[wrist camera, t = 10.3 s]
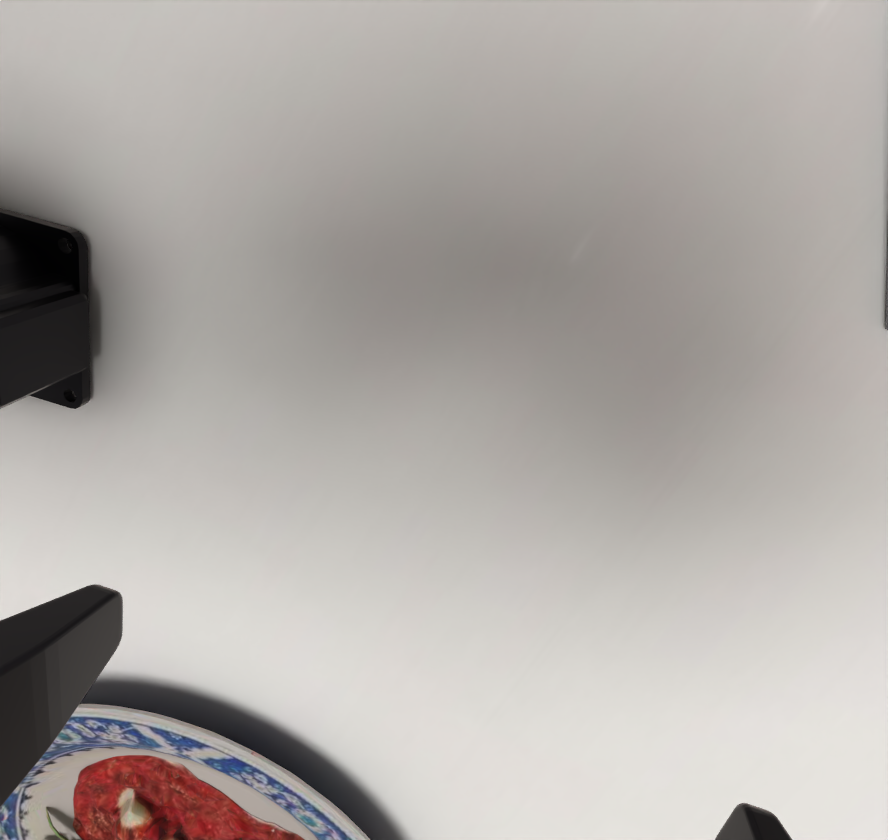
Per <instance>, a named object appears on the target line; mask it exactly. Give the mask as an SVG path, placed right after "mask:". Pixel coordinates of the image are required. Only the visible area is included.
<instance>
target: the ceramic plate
mask: <svg viewBox="0 0 888 840" xmlns="http://www.w3.org/2000/svg"><path fill="white" fill-rule="evenodd" d="M0 840H370V839H369V838H368V836H367V835H366V834H365V833H364V832H363V831H362V830H361V829H360V828H359V827H358V826H357V825H356V824H355V823H354V822H353V821H352V820H351V819H350V818H349V817H348V816H346V815H345V814H344V813H343V812H342V811H341V810H340V809H339V808H338V807H336V806H335V805H334V804H333V803H331V802H330V801H329V800H328V799H326V798H325V797H324V796H322V795H321V794H320V793H318V792H317V791H316V790H314V789H313V788H312V787H310V786H309V785H308V784H306V783H305V782H304V781H302V780H301V779H300V778H298V777H297V776H295V775H294V774H293V773H291V772H289V771H288V770H286V769H284V768H282V767H281V766H279V765H277V764H276V763H274V762H272V761H270V760H269V759H267V758H265V757H264V756H262V755H260V754H258V753H256V752H254V751H252V750H250V749H248V748H246V747H244V746H242V745H240V744H238V743H236V742H234V741H232V740H230V739H227V738H225V737H223V736H221V735H219V734H217V733H214V732H212V731H209V730H206V729H203V728H201V727H198V726H195V725H192V724H189V723H186V722H183V721H180V720H177V719H174V718H171V717H167V716H164V715H160V714H156V713H152V712H147V711H142V710H136V709H131V708H125V707H120V706H111V705H100V704H79V706H78V707H77V709H76V710H75V711H74V713H73V714H72V716H71V717H70V719H69V720H68V722H67V723H66V725H65V726H64V728H63V729H62V731H61V732H60V733H59V735H58V736H57V738H56V739H55V740H54V742H53V743H52V745H51V746H50V747H49V748H48V750H47V751H46V752H45V754H44V755H43V756H42V757H41V759H40V760H39V761H38V762H37V764H36V765H35V766H34V767H33V768H32V770H31V771H30V772H29V773H28V774H27V776H26V777H25V778H24V779H23V781H22V782H21V783H20V784H19V785H18V787H17V788H16V789H15V790H14V791H13V793H12V794H11V795H10V796H9V798H8V799H7V800H6V801H5V802H4V804H3V805H2V806H1V807H0Z"/></svg>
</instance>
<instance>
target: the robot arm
mask: <svg viewBox="0 0 888 840" xmlns="http://www.w3.org/2000/svg"><path fill="white" fill-rule="evenodd" d="M67 239H68V240H69V241H70V243H71V245H72V250H70V248H69V247H68V245H67ZM72 391H73V392H74V393H75V394H76V397H75V396H74V395H73V394H72ZM29 395H30V396H33V397H36V398H39V399H43V400H46V401H49V402H52V403H56V404H59V405H62V406H65V407H68V408H74V409H76V408H78V407H81V406H82V405H84V404H86V403H87V402H88V401H89V399H90V351H89V303H88V260H87V244H86V240H85V239H84V237H83V235H82V234H81V233H80V232H79V231H77V230H75V229H73V228H69V227H66V226H62V225H58V224H55V223H51V222H48V221H44V220H41V219H37V218H33V217H30V216H26V215H23V214H19V213H16V212H12V211H8V210H5V209H1V208H0V409H1V408H3V407H5V406H7V405H10V404H12V403H14V402H16V401H18V400H20V399H22V398H25V397H27V396H29ZM122 620H123V600H122V596H121V594H120V593H119V592H118V591H116V590H113V589H110V588H107V587H104V586H101V585H90V586H86V587H84V588H81V589H79V590H76V591H74V592H71V593H69V594H66V595H64V596H61V597H59V598H56V599H54V600H51V601H49V602H46V603H44V604H41V605H39V606H36V607H34V608H31V609H29V610H26V611H24V612H21V613H19V614H16V615H14V616H11V617H9V618H6V619H4V620H1V621H0V807H1V806H2V805H3V804H4V802H5V801H6V800H7V799H8V798H9V796H10V795H11V794H12V793H13V791H14V790H15V789H16V788H17V787H18V785H19V784H20V783H21V782H22V781H23V779H24V778H25V777H26V776H27V774H28V773H29V772H30V771H31V770H32V768H33V767H34V766H35V765H36V764H37V762H38V761H39V760H40V759H41V757H42V756H43V755H44V754H45V752H46V751H47V750H48V748H49V747H50V746H51V745H52V743H53V742H54V740H55V739H56V738H57V736H58V735H59V733H60V732H61V731H62V729H63V728H64V726H65V725H66V723H67V722H68V720H69V719H70V717H71V716H72V714H73V713H74V711H75V710H76V709H77V707H78V706H79V704H80V703H81V701H82V700H83V698H84V697H85V695H86V694H87V692H88V691H89V689H90V688H91V686H92V685H93V683H94V682H95V680H96V679H97V677H98V676H99V674H100V673H101V672H102V670H103V669H104V667H105V666H106V664H107V663H108V661H109V660H110V658H111V657H112V655H113V654H114V652H115V651H116V649H117V647H118V645H119V643H120V641H121V637H122ZM715 840H792V839H791V837H790V836H789V834H788V833H787V831H786V830H785V828H784V827H783V825H782V824H781V823H780V821H779V820H778V818H777V817H776V816H775V815H774V814H773V813H771V812H769V811H767V810H764V809H761V808H759V807H756V806H753V805H750V804H747V803H741V804H739V805H737V807H736V808H735V809H734V811H733V812H732V814H731V815H730V817H729V818H728V820H727V821H726V823H725V824H724V826H723V827H722V829H721V831H720V832H719V834H718V835H717V837H716V839H715Z"/></svg>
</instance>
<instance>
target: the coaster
mask: <svg viewBox="0 0 888 840" xmlns="http://www.w3.org/2000/svg"><path fill="white" fill-rule="evenodd" d="M885 329H887V330H888V248H887V284H886V321H885Z"/></svg>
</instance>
